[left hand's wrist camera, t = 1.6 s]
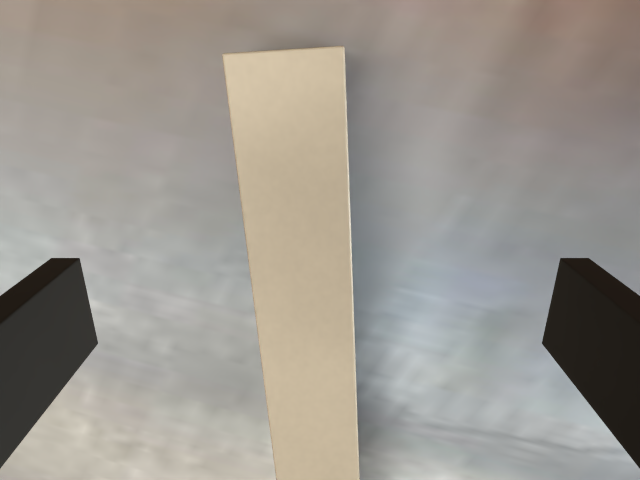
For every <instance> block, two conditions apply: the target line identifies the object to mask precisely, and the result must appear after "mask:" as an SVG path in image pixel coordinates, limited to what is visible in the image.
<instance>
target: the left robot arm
mask: <svg viewBox="0 0 640 480" xmlns="http://www.w3.org/2000/svg"><path fill="white" fill-rule="evenodd" d="M97 344H98V341H97V336H96V332H95V327H94V323H93V318H92V313H91V309H90V304H89V300H88V295H87V290H86V286H85V281H84V277H83V272H82V267H81V263H80V258H51V259H50V260H48V261H47V262H46V263H44V264H43V265H42V266H40V267H39V268H37V269H36V270H35V271H33V272H32V273H31V274H29V275H28V276H27V277H25V278H24V279H23V280H21V281H20V282H19V283H17V284H16V285H14V286H13V287H12V288H10V289H9V290H8V291H6V292H5V293H4V294H2V295H1V296H0V468H1V467H2V466H3V464H4V463H5V462H6V460H7V459H8V458H9V457H10V455H11V454H12V453H13V451H14V450H15V449H16V448H17V446H18V445H19V444H20V442H21V441H22V440H23V439H24V437H25V436H26V435H27V434H28V432H29V431H30V430H31V428H32V427H33V426H34V425H35V423H36V422H37V421H38V419H39V418H40V417H41V416H42V414H43V413H44V412H45V411H46V409H47V408H48V407H49V405H50V404H51V403H52V402H53V400H54V399H55V398H56V396H57V395H58V394H59V393H60V391H61V390H62V389H63V387H64V386H65V385H66V384H67V382H68V381H69V380H70V379H71V377H72V376H73V375H74V373H75V372H76V371H77V370H78V368H79V367H80V366H81V364H82V363H83V362H84V361H85V359H86V358H87V357H88V356H89V354H90V353H91V352H92V350H93V349H94V348H95V347H96V345H97ZM542 344H543V345H544V347H545V348H546V349H547V350H548V352H549V353H550V354H551V356H552V357H553V358H554V359H555V361H556V362H557V363H558V364H559V366H560V367H561V368H562V370H563V371H564V372H565V373H566V375H567V376H568V377H569V379H570V380H571V381H572V382H573V384H574V385H575V386H576V387H577V389H578V390H579V391H580V393H581V394H582V395H583V396H584V398H585V399H586V400H587V402H588V403H589V404H590V405H591V407H592V408H593V409H594V411H595V412H596V413H597V414H598V416H599V417H600V418H601V419H602V421H603V422H604V423H605V425H606V426H607V427H608V428H609V430H610V431H611V432H612V434H613V435H614V436H615V437H616V439H617V440H618V441H619V442H620V444H621V445H622V446H623V448H624V449H625V450H626V451H627V453H628V454H629V455H630V457H631V458H632V459H633V460H634V462H635V463H636V464H637V466H638V467H639V468H640V296H639V295H638V294H636V293H635V292H634V291H632V290H631V289H630V288H628V287H627V286H625V285H624V284H623V283H621V282H620V281H619V280H617V279H616V278H615V277H613V276H612V275H611V274H609V273H608V272H607V271H605V270H604V269H603V268H601V267H600V266H598V265H597V264H596V263H594V262H593V261H592V260H590V259H589V258H560V263H559V267H558V272H557V277H556V281H555V286H554V290H553V295H552V300H551V304H550V309H549V313H548V318H547V323H546V327H545V332H544V336H543V341H542Z"/></svg>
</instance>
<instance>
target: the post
mask: <svg viewBox="0 0 640 480" xmlns="http://www.w3.org/2000/svg"><path fill="white" fill-rule="evenodd" d="M222 57H223V65H224V73H225V81H226V88H227V96H228V104H229V112H230V120H231V128H232V135H233V143H234V151H235V159H236V167H237V175H238V182H239V190H240V198H241V206H242V214H243V222H244V229H245V237H246V245H247V253H248V261H249V268H250V276H251V284H252V292H253V300H254V308H255V315H256V323H257V331H258V339H259V347H260V355H261V362H262V370H263V378H264V386H265V394H266V401H267V409H268V417H269V425H270V433H271V441H272V448H273V456H274V464H275V472H276V480H359V451H358V422H357V393H356V364H355V335H354V306H353V278H352V249H351V220H350V191H349V162H348V133H347V104H346V75H345V48H344V46H333V47H317V48H302V49H286V50H270V51H254V52H238V53H224V54H223V55H222Z"/></svg>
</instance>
